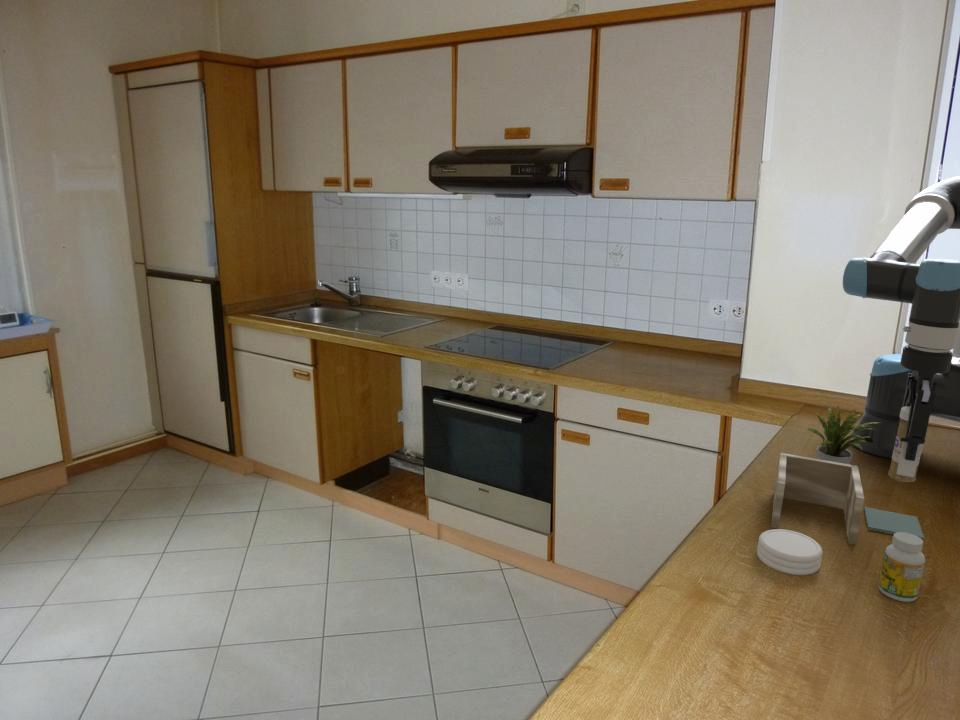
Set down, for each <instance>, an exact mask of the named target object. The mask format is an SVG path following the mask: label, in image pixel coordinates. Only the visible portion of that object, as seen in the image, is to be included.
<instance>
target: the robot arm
mask: <svg viewBox="0 0 960 720" xmlns="http://www.w3.org/2000/svg"><path fill="white" fill-rule="evenodd" d="M952 229H953V230H960V175H959V176H954V177H951V178H947V179H945V180H942V181H939V182H937V183H935V184H932V185H930V186H929V187H927V188H925V189H923V190H922V191H920V192H919V193H917V194H916V195H915V196H914V197H913V198H912V200H911V201H910V202H908V204H907V205H906V208H905V210H904V216H903V218H902V219H900V221H899V223H898V224H897V225H896V226H895V227H894V228H893V230H891V232H890V233H889V235H887V237H886V238H885V240H883V241H882V242H881V244H879V247H878V248H877V249H876V250H875V251H874V252H873V253H872V255H871V256H870V257H869V258H867V257H854V258H851V259H850V260H849V261H848V262H847V264H846V266H845V268H844V271H843V275H842V289H843V291H844V293H846V295H850V296H853V297H854V296H855V297H860V298H862V299H866V298H867V299H874V300H882V301H888V302H889V301H890V302H896V303H897V302H898V303H904V304H905V303H906V304H911V307H910V308H911V309H910V313H909V318H908V326H907V325H906V326H904V327H903V328H902V330H903V332H905V333H906V334H905V339H904V342H905V343H906V345H904V346H903V348H902V352H901V353H894V354H893V353H892V354H891V353H889V354H884V355H880V356H878V357H877V358H875V360H874V361H873V364H872V365H873V366H872V369H871V372H870V374H869V376H870V377H869V382H868V383H869V384H868V388H867V389H868V390H867V394H866V399H865V407H864V410H863V411H864V412H863V414H862V415H861V416H860V419H859V420H858V422H857V424H856V425H857V426H859V425H861V424H864V423H870V422H880V423H872V424H867V425H869V426H868V427H864V428H872V429H863V430H858V431H857V432H856V433H854V434H853V435H859V436H861V437H865V436H867V437H866V438H864V439H863V440H865V441H866V442H856V443H858V444H860V445H861V446H862V449H863V451H862V449H861V448H860V447H858V446H856V445H853V447H855V448H857V450H861V451H862V452H866V453H869V454H871V455H876V456H878V457H883V458H887V459H892V454H893V450H894V445H895V440H896V437H897V433H898V428H899V423H900V412H901V408H902V407H906V406H910V411H909V418H908V424H907V430H906V437H905V438H900V441H903V443H902V448H901V453H900V458H899V463H898V468H897V474H898V475H904V476H909V477H914V475H915V470H916V465H917V461H918V456H919V451H920V446H921V444H923V445H924V444H925V443H926V435H927V431H928V427H929V426H928V425H929V421H930V418H931V417H933V418H939V419H941V420H947V421H951V422H954V423H955V422H956V423H960V260H958V259H949V258H926V259H924V260H922V261H921V262H920V263H917V262H918V261H919V259H921V257H922V256H923V254H924V253H925V252H926V251H927V249H928V248H929V246H931V244H932V242H933V241H934V240H935V239H936V238H937V236H938V235H940V234H942V233H944V232H946V231H947V230H952ZM856 425H855V427H857V426H856ZM864 426H866V425H864ZM871 426H873V427H871ZM859 428H860V427H859ZM858 438H860V437H853V438H850V440H853V439H858ZM923 447H924V446H923ZM923 447H922V449H923ZM922 453H923V450H922V451H921V454H922Z"/></svg>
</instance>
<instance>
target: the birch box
mask: <svg viewBox="0 0 960 720" xmlns="http://www.w3.org/2000/svg"><path fill="white" fill-rule="evenodd" d="M777 466H778V467H777V473H776V479H775V486H774V492H773V503H772V514H771V528H772V527H773V528H772V529H777V528H778V529H779V528H780V527H779V525H780V520H781V519H780V518H781V513H782V507H783V500H784V499H787V500H788V499H789V500H794V501H799V502H804V503H810V504H814V503H815V505H819V504H822V505H821V506H824V505H826V506H825V507H829V506H831V507H830V508H835V507H837V508H836V509H840V508H843V509H842V510H843V515H844V514H845V516H844V522H846V524H845V530H846V529H847V531H846V537H848V539H847V544H849V543H851V544H850V545H854V546H855V545H856V544H857V540H858V533H859V528H860V524H861V519H862V512H863V509H864V502H865V496H864V490H863V487H862V481H861V476H860V471H859V466H858V465H856V464H855V465H854V464H844V463H838V462H832V461H826V460H820V459H817V458H813V457H806V456H802V455H796V454H789V453H784V452H780V453H779V460H778V465H777Z"/></svg>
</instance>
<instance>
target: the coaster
mask: <svg viewBox="0 0 960 720" xmlns="http://www.w3.org/2000/svg"><path fill="white" fill-rule="evenodd" d="M823 553H824V552H823V548H822V546H821V545H820V543H818V542H817V541H816V540H815V539H813V538H812V537H810V536H808V535H806V534H803V533H801V532H798V531H795V530H789V529H782V528H778V529H777V528H772V529H769V530H765V531H763V532H761V534H759V536H758V542H757V549H756V554H757V557H758V559H759V560H760V561H761V562H762V563H763V564H764V565H766V566H767V567H769V568H770V569H773V570H776V571H777V572H781V573H782V574H783V573H784V574H789V575H793V576H808V575H813V574H815V573H817V572H818V571H819V570H820V568H821V562H822V556H823Z"/></svg>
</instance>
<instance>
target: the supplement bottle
mask: <svg viewBox="0 0 960 720" xmlns="http://www.w3.org/2000/svg"><path fill="white" fill-rule="evenodd" d="M891 542H892V543H891V544H889V545H887V546H886V548H885V549H884V555H883V561H882V566H881V572H880V576H879V577H880V578H879V582H878V589H879V590H880V592H881V593H882V594H884V595H885V596H886V597H888V598H890V599H892V600H895V601H899V602H904V603H910V602H914V601H916V599H918V595H919V591H920V587H921V582H922V577H923V573H924V569H925V562H926V558H925V557H926V556H925V555H924V554H923V552H922V550H923V546H924V541H923V540H922V539H921V538H919V537H917V536H915V535H913V534H910V533H905V532H896V533H894V535H893V536H892V540H891Z"/></svg>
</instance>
